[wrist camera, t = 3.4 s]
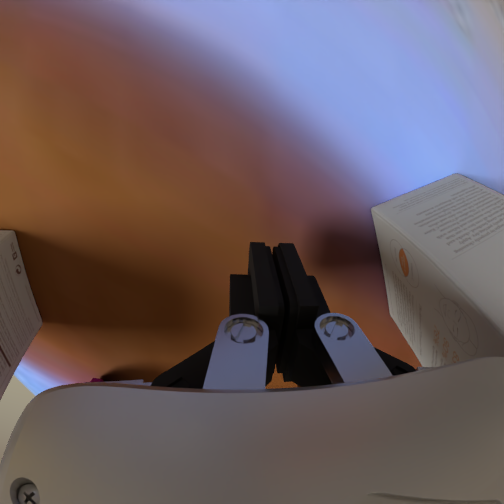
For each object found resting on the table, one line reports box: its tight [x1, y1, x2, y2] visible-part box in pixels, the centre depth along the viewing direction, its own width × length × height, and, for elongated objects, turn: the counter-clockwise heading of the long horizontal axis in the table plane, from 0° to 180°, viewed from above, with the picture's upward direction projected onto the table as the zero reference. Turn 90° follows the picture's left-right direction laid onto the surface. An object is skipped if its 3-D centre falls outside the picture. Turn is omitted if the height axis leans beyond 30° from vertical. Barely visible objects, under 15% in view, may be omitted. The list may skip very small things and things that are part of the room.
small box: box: [371, 174, 504, 367], centre depth 9 cm, size 8×6×13 cm
